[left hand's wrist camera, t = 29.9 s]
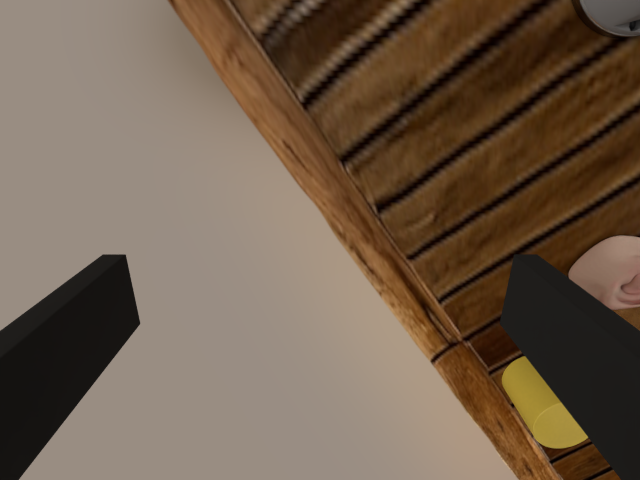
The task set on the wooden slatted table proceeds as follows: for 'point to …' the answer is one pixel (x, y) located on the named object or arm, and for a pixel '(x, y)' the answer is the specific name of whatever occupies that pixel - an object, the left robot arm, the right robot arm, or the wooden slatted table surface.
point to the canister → (540, 406)
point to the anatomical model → (611, 272)
